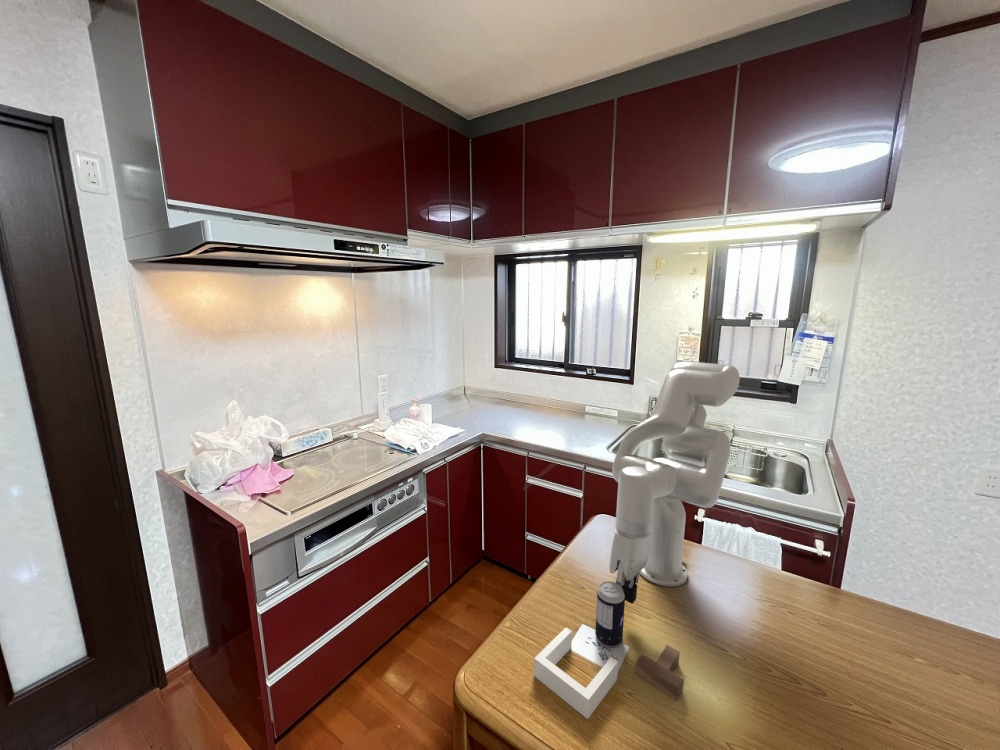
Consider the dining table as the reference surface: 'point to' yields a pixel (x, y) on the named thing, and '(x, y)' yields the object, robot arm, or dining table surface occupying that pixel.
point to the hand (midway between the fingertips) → (627, 598)
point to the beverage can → (610, 614)
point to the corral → (567, 686)
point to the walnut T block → (662, 672)
